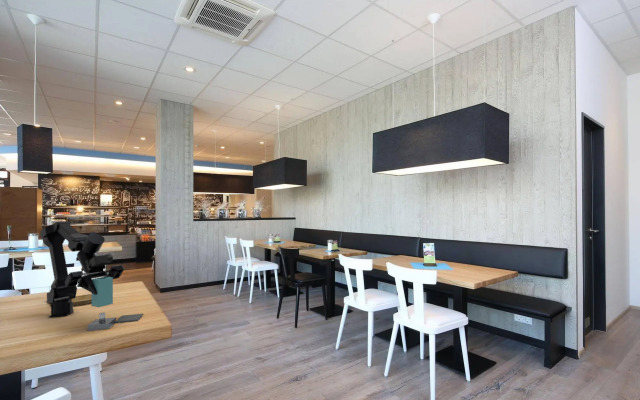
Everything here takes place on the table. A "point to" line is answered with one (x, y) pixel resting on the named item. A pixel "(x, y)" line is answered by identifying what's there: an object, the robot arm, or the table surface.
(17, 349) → the table surface
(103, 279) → the teal sleeve
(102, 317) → the steel stand
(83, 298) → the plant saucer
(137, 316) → the rubber mat
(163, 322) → the table surface
